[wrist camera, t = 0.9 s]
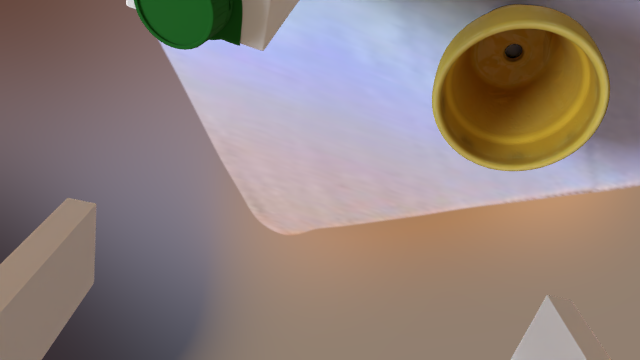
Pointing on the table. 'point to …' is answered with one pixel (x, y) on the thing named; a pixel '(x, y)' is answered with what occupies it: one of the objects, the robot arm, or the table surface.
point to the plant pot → (520, 89)
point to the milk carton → (213, 20)
